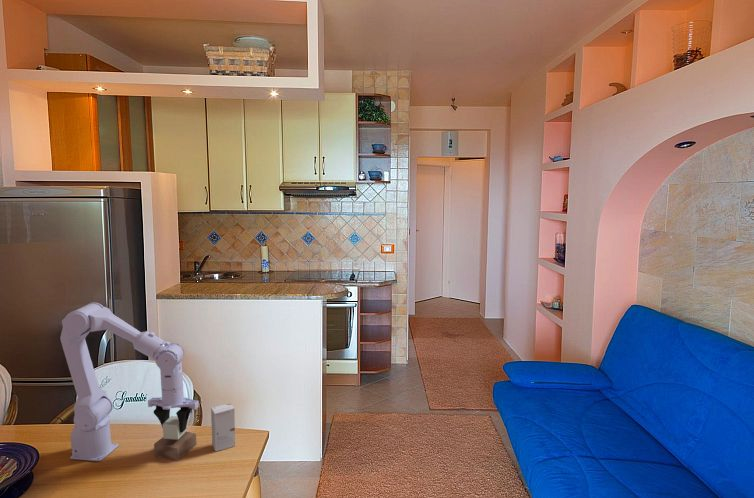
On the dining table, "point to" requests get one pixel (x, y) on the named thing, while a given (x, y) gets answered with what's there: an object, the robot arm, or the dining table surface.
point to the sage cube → (172, 428)
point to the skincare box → (223, 426)
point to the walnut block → (175, 446)
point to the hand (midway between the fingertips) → (174, 429)
